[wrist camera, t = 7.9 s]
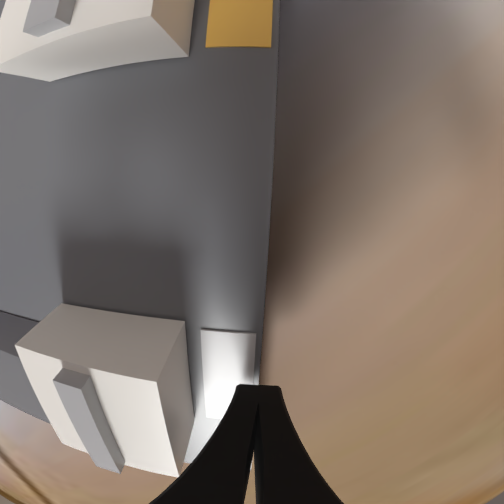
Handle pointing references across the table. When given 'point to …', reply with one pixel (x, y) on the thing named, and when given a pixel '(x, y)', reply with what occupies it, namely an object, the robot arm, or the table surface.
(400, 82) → the table surface
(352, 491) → the table surface
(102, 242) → the switch panel
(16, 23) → the slider
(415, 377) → the table surface
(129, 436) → the slider
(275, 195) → the table surface
